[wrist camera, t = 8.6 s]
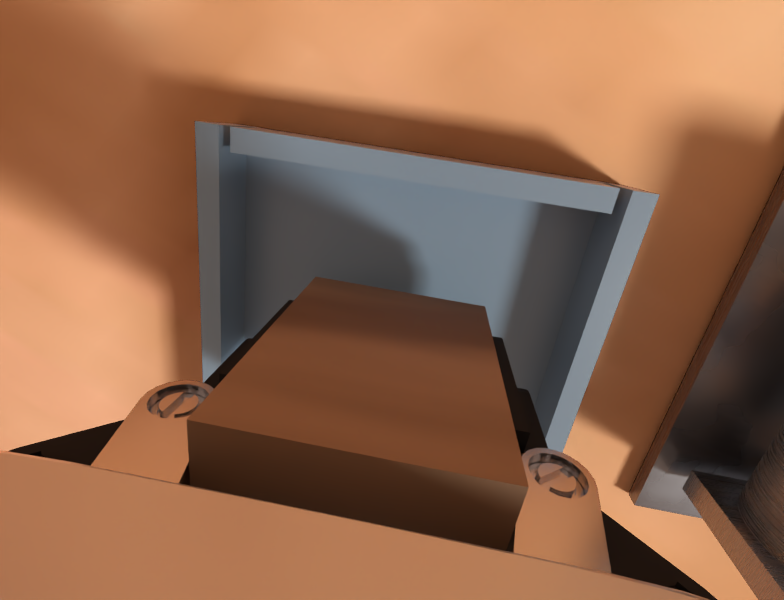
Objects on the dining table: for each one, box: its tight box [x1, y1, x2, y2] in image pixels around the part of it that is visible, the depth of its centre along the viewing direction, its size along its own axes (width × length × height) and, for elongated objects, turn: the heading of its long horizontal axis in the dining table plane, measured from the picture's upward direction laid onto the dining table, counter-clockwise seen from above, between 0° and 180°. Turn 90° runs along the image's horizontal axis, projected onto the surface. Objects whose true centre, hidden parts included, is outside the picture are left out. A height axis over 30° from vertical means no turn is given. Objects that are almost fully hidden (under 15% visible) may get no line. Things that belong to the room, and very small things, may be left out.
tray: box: [195, 121, 659, 453], centre depth 13 cm, size 11×11×2 cm
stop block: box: [187, 277, 529, 551], centre depth 9 cm, size 4×4×6 cm
